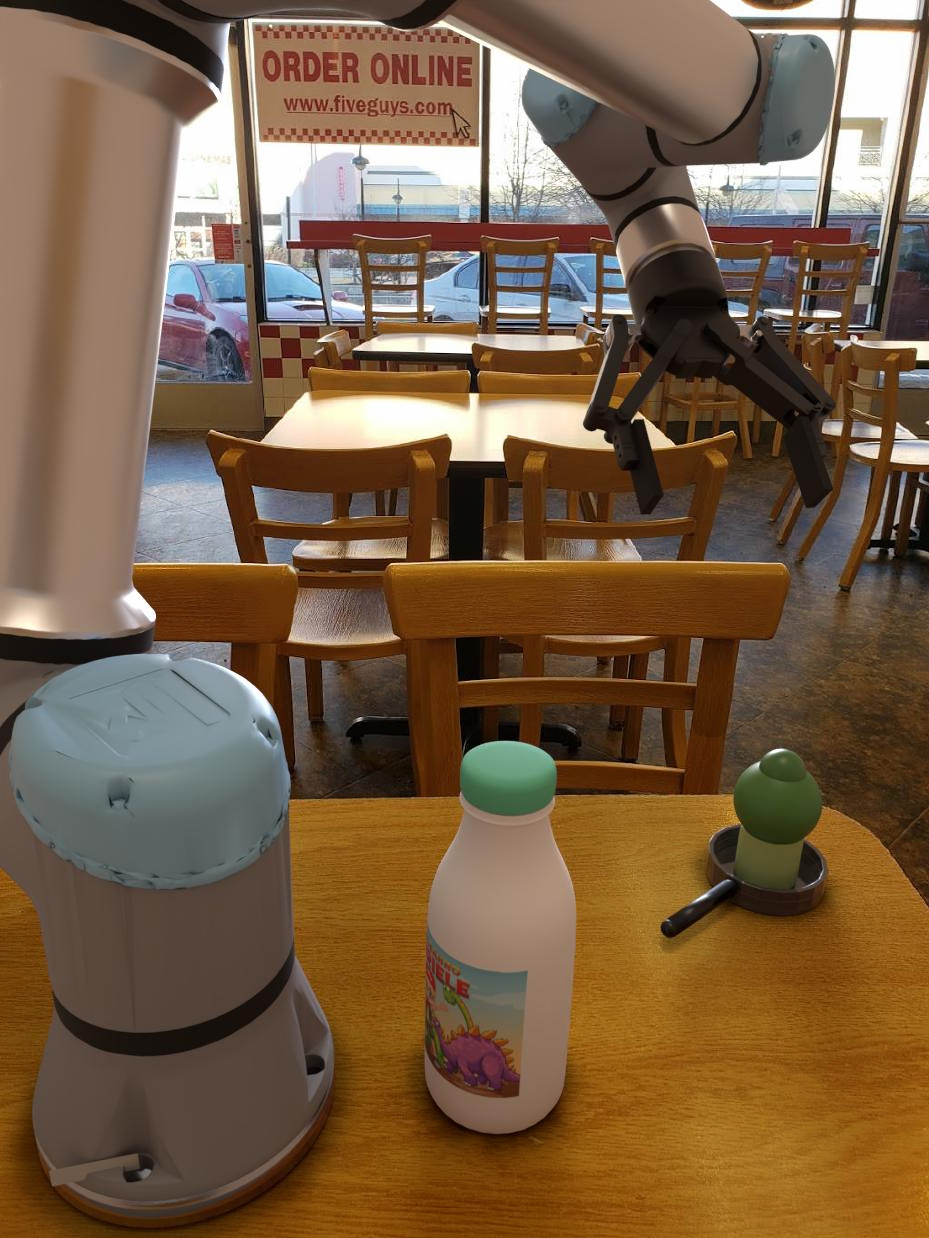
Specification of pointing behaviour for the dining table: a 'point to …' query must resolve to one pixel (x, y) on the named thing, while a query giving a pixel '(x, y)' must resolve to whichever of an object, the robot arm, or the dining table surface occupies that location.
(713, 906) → the pan handle
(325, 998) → the dining table surface
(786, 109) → the robot arm
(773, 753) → the broccoli
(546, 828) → the milk bottle
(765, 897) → the pan
